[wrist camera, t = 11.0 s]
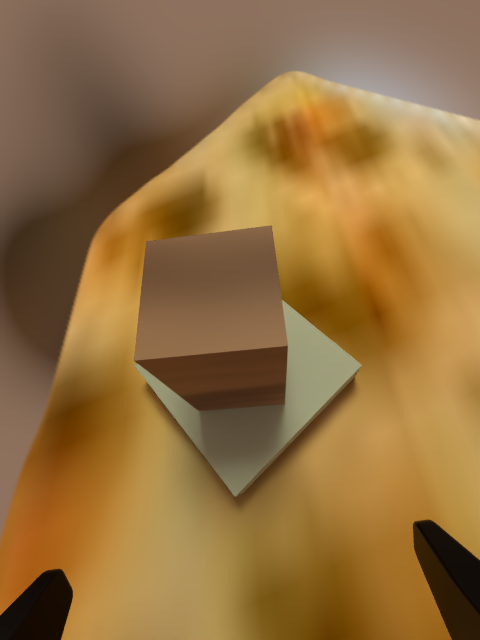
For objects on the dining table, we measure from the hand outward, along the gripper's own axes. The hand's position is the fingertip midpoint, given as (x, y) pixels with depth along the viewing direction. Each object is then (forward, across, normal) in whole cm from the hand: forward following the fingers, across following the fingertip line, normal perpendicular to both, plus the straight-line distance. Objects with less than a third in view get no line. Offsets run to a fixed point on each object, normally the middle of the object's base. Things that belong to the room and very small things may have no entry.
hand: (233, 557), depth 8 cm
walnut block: (+12, 0, 0) cm, 12 cm away
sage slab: (+14, 0, +2) cm, 14 cm away
